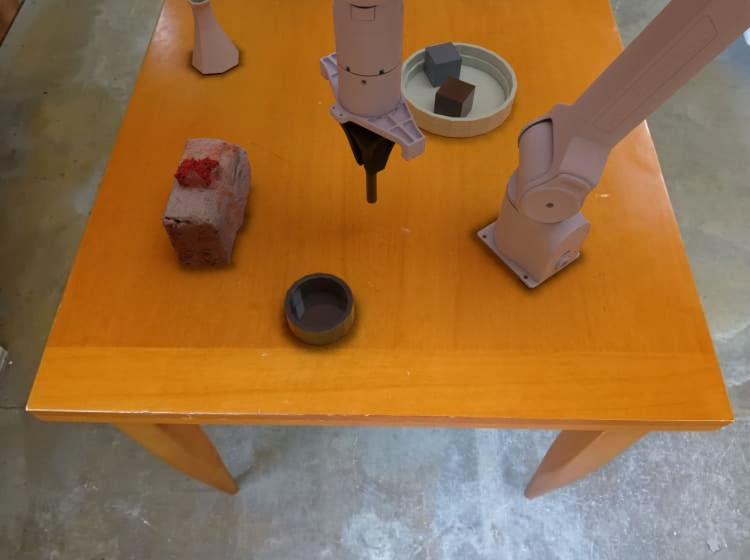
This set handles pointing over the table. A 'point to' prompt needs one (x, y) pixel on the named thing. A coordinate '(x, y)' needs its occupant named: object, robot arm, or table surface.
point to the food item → (207, 201)
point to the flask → (210, 41)
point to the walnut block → (454, 98)
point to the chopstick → (371, 188)
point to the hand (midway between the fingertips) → (370, 165)
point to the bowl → (476, 69)
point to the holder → (319, 308)
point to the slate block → (442, 63)
